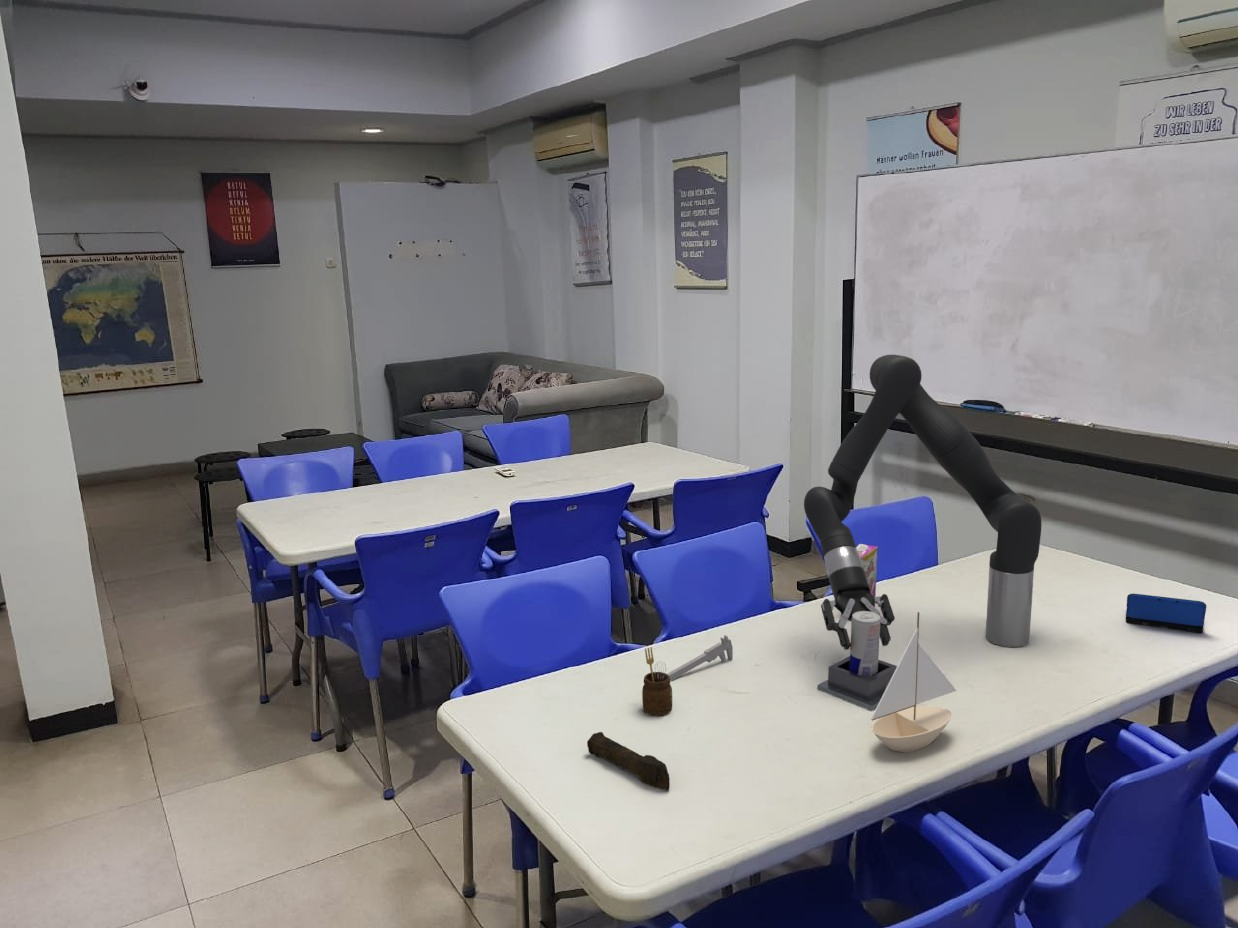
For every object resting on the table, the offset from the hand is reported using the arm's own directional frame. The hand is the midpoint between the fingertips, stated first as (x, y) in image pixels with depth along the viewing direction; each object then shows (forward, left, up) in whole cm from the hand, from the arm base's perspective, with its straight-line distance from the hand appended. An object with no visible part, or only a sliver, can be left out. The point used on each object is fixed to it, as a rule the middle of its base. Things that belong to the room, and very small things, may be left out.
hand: (867, 646), depth 186 cm
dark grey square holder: (-1, -1, -10) cm, 10 cm away
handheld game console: (-78, +28, -11) cm, 84 cm away
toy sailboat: (+10, +17, -10) cm, 23 cm away
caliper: (+18, -31, -11) cm, 37 cm away
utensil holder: (+35, -24, -10) cm, 44 cm away
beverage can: (-1, -1, -9) cm, 9 cm away
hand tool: (+53, -11, -11) cm, 56 cm away
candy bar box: (-35, -26, -10) cm, 45 cm away
